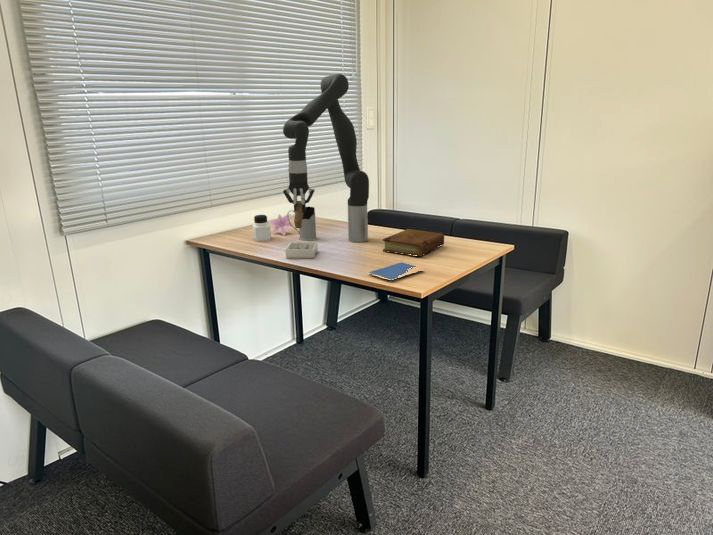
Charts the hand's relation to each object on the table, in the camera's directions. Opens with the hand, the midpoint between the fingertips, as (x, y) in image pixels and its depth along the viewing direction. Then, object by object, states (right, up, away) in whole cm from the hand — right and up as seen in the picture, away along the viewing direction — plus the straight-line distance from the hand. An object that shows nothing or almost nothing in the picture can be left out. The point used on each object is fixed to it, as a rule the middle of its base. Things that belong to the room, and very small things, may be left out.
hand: (299, 212), depth 213 cm
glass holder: (-2, -9, +32) cm, 34 cm away
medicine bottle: (-22, -10, +32) cm, 40 cm away
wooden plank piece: (0, -5, -6) cm, 8 cm away
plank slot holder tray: (0, -18, +6) cm, 18 cm away
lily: (-14, -6, +45) cm, 47 cm away
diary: (+50, -15, +14) cm, 54 cm away
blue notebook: (+39, -26, -19) cm, 51 cm away
